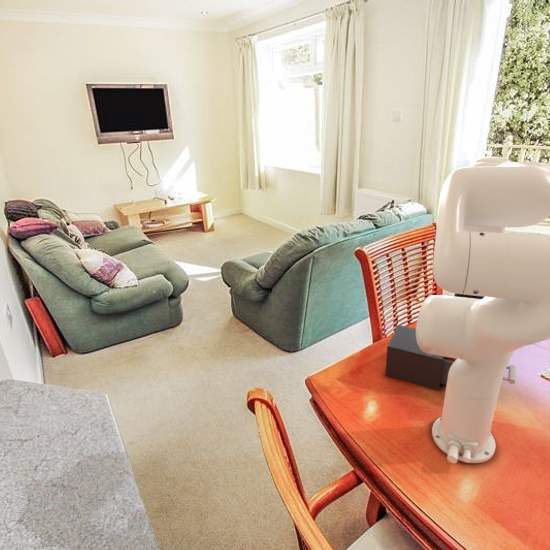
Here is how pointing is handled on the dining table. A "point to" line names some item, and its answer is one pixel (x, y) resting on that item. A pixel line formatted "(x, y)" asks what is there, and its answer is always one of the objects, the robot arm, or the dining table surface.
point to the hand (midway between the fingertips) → (472, 281)
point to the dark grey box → (412, 360)
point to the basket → (448, 363)
